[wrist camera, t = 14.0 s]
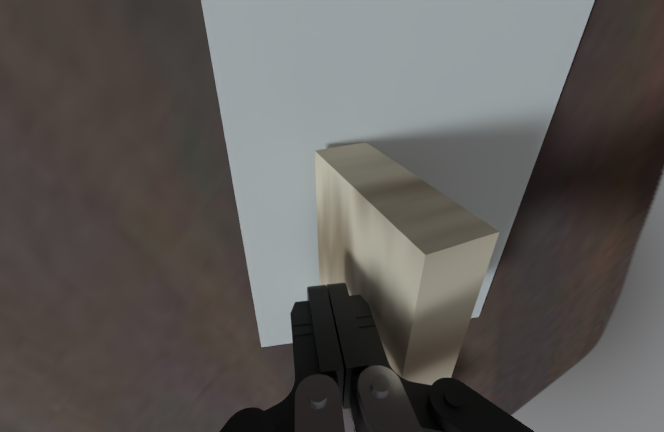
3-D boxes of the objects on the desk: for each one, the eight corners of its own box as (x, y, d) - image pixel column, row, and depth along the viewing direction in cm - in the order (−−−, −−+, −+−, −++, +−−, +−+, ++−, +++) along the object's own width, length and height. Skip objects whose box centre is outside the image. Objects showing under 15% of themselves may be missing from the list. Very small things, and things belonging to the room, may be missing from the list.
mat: (202, -10, 12) (199, -10, 12) (585, -5, 14) (596, -5, 14) (261, 339, 23) (261, 347, 22) (474, 310, 25) (478, 316, 25)
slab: (314, 150, 15) (425, 255, 9) (366, 141, 16) (500, 231, 9) (320, 305, 20) (390, 437, 14) (358, 292, 21) (440, 411, 15)
